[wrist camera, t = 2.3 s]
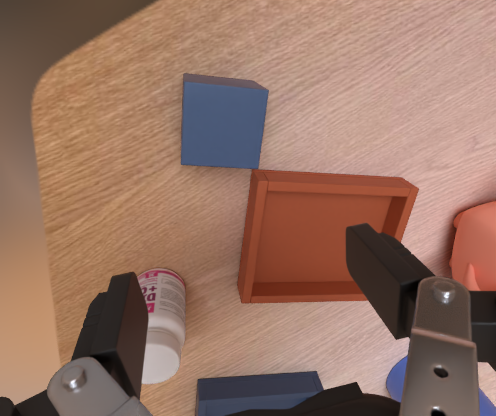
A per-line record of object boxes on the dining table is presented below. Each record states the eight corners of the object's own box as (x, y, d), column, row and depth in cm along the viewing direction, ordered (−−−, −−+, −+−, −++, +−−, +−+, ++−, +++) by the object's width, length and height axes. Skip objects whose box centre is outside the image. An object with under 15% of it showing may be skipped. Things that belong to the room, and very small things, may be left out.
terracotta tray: (237, 285, 33) (241, 303, 31) (251, 168, 28) (258, 180, 26) (368, 283, 36) (380, 300, 34) (402, 177, 31) (419, 188, 29)
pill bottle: (151, 257, 30) (142, 329, 23) (195, 282, 32) (200, 356, 25) (120, 294, 31) (101, 374, 24) (164, 316, 33) (160, 397, 26)
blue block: (180, 143, 27) (180, 165, 22) (183, 73, 24) (183, 81, 20) (245, 147, 28) (258, 169, 23) (253, 80, 25) (269, 90, 21)
